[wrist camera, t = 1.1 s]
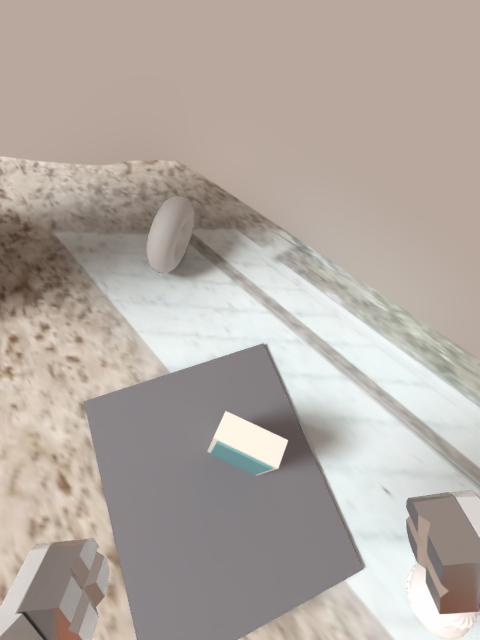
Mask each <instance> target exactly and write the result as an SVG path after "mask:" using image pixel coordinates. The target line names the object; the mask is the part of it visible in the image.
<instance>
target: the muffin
mask: <svg viewBox="0 0 480 640" xmlns="http://www.w3.org/2000/svg"><path fill="white" fill-rule="evenodd" d="M406 580H407V582H406V592H407V596H408V599H409V603H410V606H412V609H413V612H414V613H415V614H416V615H417V618H419V620H420V621H421V623H422V624H423V625H424V626H425V627H426V628H427V629H428V630H429V631H430V632H432V633H433V634H435V635H436V636H438V637H441V638H444V639H458V638H460V637H462V636H464V635H465V634H466V633H467V632H468V630H469V629H470V628H471V627H472V625H473V623H476V621H477V617H476V616H477V615H478V614H479V612H469V613H454V614H439V612H438V610H437V608H436V605H435V603H434V601H433V598H432V596H431V594H430V591H429V589H428V587H427V584H426V569H425V568H424V567H422V566H421V565H420V564H417V565H416V566H415V567H413V569H412V570H411V572H410V573H409V575H408V578H407V579H406Z"/></svg>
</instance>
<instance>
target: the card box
mask: <svg viewBox="0 0 480 640" xmlns="http://www.w3.org/2000/svg"><path fill="white" fill-rule="evenodd" d="M287 442H288V440H287V439H284V438H282V437H280V436H278V435H276V434H274V433H272V432H270V431H267V430H265V429H263V428H261V427H259V426H257V425H255V424H253V423H250V422H248V421H246V420H244V419H242V418H240V417H238V416H236V415H233V414H231V413H229V412H227V411H225V413H224V416H223V418H222V420H221V422H220V424H219V426H218V429H217V431H216V433H215V435H214V437H213V440H212V442H211V444H210V446H209V449H208V451H207V452H209V453H210V454H211V455H213V456H215V457H217V458H219V459H221V460H223V461H225V462H227V463H229V464H231V465H233V466H236V467H238V468H240V469H242V470H244V471H246V472H248V473H250V474H252V475H260V474H263V473H266V472H270V471H273V470H276V469H278V468H279V465H280V462H281V460H282V457H283V454H284V451H285V448H286V445H287Z"/></svg>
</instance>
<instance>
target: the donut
mask: <svg viewBox="0 0 480 640" xmlns="http://www.w3.org/2000/svg"><path fill="white" fill-rule="evenodd" d="M194 220H195V215H194V208H193V206H192V204H191V202H190V201H189V200H188V199H187V198H185V197H182V196H172V197H171V198H169V199H168V200H166V201H165V202H164V203H163V205H162V206H161V207H160V209H159V210H158V212H157V214H156V216H155V218H154V220H153V223H152V225H151V228H150V232H149V236H148V241H147V259H148V262H149V265H150V266H151V267H152V269H154V270H156V271H157V272H159V273H168V272H170V271H172V270H174V269H175V268H176V267H177V266H178V264H179V263H180V261H181V260H182V258H183V256H184V254H185V252H186V250H187V247H188V244H189V242H190V238H191V235H192V231H193V227H194Z"/></svg>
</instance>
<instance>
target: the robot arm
mask: <svg viewBox="0 0 480 640" xmlns="http://www.w3.org/2000/svg"><path fill="white" fill-rule="evenodd" d="M406 508H407V510H408V513H409V515H410V517H409V518H408V519H407V520H406V524H407V533H408V538H409V542H410V545H411V548H412V551H413V553H414V556H415V558H416V561H417V562H418V563H419V564H420V565H421V566H422V567H424V568H425V569H426V584H427V587H428V589H429V591H430V594H431V596H432V598H433V601H434V603H435V605H436V608H437V610H438V612H439V614H454V613H469V612H480V498H479V496H478V495H477V494H476V493H475V492H473V491H472V490H467V491H460V492H454V493H441V494H434V495H427V496H420V497H413V498H408V499H407V505H406ZM98 546H99V545H98V544H97V542H96V541H95V539H94V538H89V539H80V540H71V541H62V542H51V543H43V544H36V545H35V546H34V547H33V549H32V550H31V551H30V552H29V554H28V556H27V558H26V560H25V562H24V563H23V565H22V567H21V569H20V571H19V573H18V575H17V577H16V579H15V581H14V583H13V584H12V586H11V588H10V590H9V592H8V594H7V596H6V598H5V600H4V602H3V603H2V605H1V607H0V640H92V637H93V633H94V630H95V627H96V624H97V620H98V617H99V616H98V613H97V609H96V606H97V605H98V604H99V603H100V602H101V600H102V599H103V598H104V597H105V594H106V590H107V587H108V582H109V566H108V562H107V560H106V558H105V556H103V555H102V554H100V553H98V552H97V549H98ZM479 614H480V613H479Z"/></svg>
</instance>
